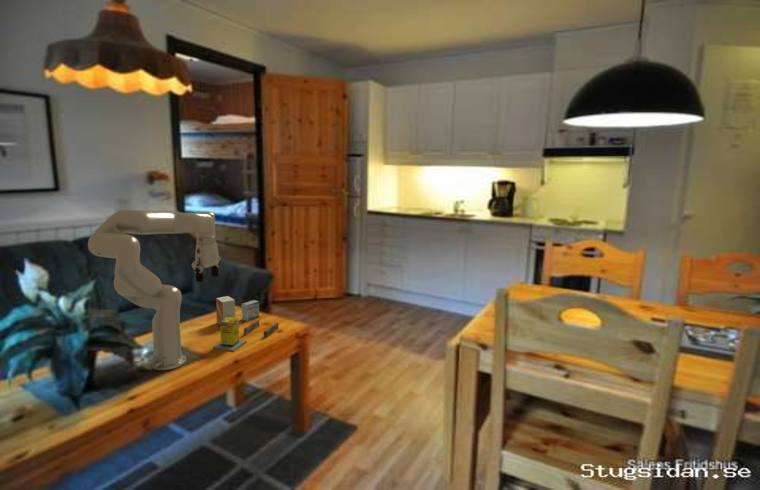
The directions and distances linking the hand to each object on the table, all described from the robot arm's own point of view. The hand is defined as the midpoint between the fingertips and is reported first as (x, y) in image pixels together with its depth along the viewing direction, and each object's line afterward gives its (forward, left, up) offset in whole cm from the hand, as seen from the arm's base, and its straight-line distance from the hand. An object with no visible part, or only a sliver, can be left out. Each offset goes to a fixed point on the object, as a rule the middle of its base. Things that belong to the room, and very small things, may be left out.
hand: (207, 278), depth 181 cm
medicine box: (+29, -3, -28) cm, 41 cm away
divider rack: (+15, -17, -28) cm, 36 cm away
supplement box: (-3, -12, -28) cm, 30 cm away
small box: (+18, +4, -28) cm, 34 cm away
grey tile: (-3, -12, -28) cm, 31 cm away
